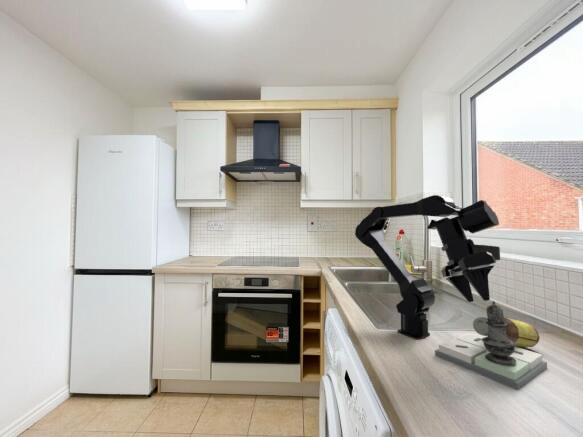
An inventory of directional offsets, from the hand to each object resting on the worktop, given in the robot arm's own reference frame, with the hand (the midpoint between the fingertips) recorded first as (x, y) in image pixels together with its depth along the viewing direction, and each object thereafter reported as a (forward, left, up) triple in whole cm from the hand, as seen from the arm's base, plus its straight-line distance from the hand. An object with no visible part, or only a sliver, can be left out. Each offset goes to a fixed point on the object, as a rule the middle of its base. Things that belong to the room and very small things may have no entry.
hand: (478, 301), depth 64 cm
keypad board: (+2, 0, -13) cm, 13 cm away
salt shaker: (+6, -4, -11) cm, 13 cm away
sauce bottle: (+3, +18, -11) cm, 21 cm away
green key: (+6, -4, -14) cm, 16 cm away
